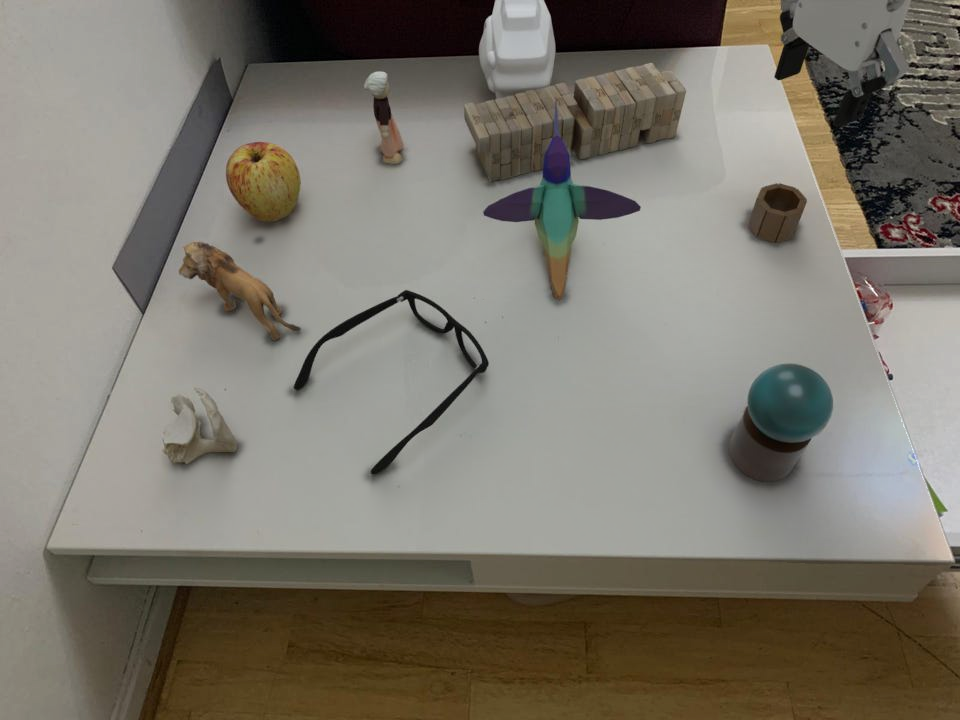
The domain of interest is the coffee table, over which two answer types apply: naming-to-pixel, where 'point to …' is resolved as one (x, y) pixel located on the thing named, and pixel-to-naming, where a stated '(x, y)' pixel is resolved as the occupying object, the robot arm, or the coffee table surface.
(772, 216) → the bronze ring
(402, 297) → the glasses
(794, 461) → the ball stand
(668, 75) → the block tower
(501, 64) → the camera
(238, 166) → the apple
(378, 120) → the grandmother figurine
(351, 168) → the coffee table surface
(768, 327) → the coffee table surface
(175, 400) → the bone
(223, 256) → the lion figurine
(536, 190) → the decorative sculpture
